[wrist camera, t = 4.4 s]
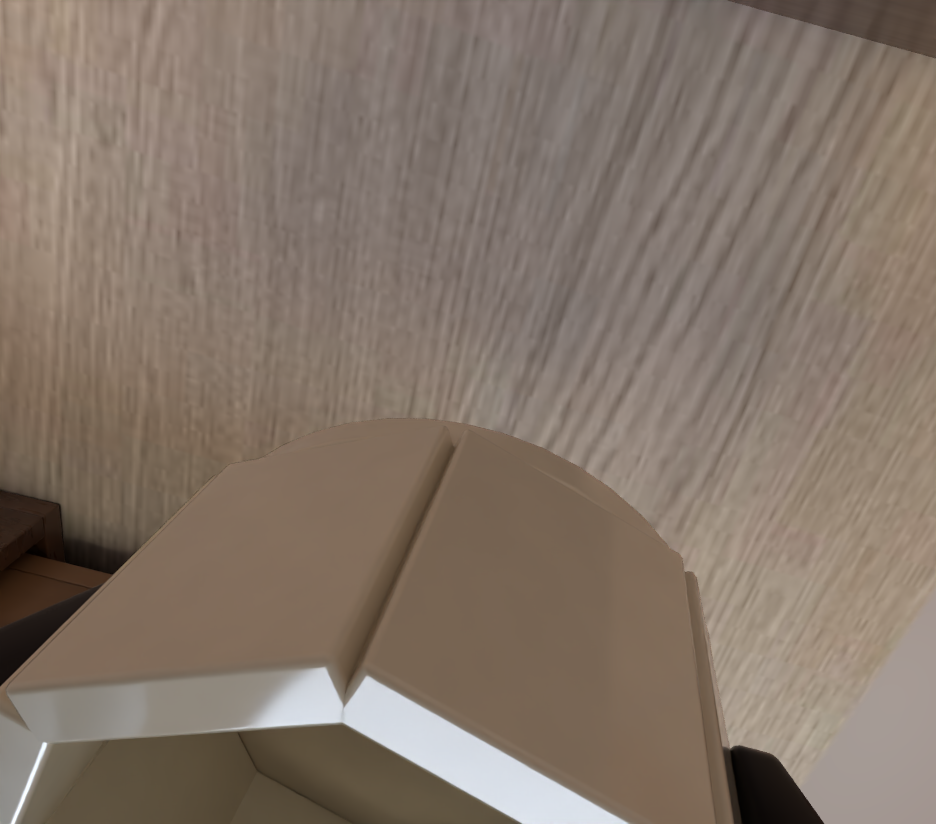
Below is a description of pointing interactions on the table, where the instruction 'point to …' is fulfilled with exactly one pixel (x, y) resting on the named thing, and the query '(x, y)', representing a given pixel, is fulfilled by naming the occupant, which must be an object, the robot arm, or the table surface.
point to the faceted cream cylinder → (380, 652)
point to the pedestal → (866, 19)
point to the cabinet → (29, 529)
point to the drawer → (41, 585)
